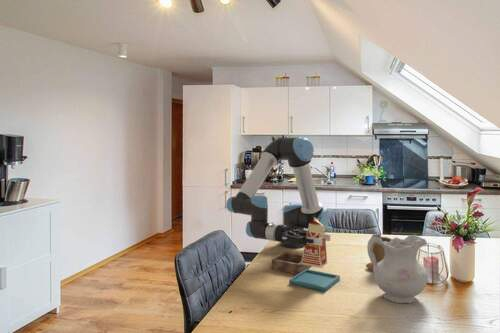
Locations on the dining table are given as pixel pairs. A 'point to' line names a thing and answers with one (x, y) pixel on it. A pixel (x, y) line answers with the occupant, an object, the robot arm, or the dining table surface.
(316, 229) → the milk carton
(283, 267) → the holder
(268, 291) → the dining table surface
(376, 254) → the stone cup
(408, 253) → the ceramic pitcher
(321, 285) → the tray
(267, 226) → the robot arm
